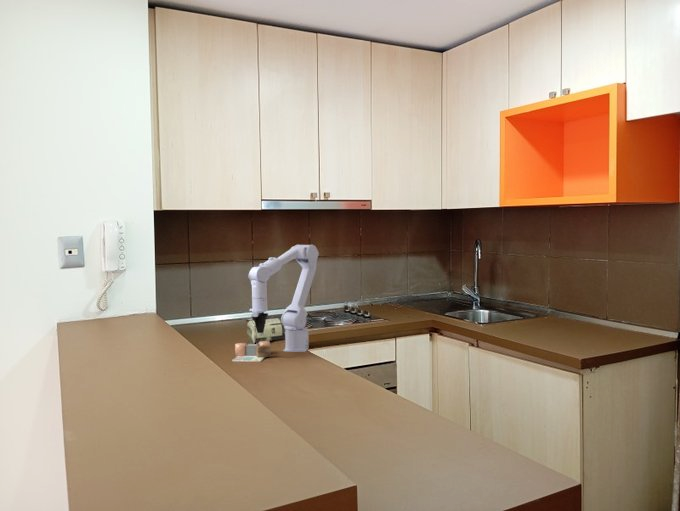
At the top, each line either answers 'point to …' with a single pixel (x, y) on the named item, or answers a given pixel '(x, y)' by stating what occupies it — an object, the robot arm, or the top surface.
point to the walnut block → (263, 351)
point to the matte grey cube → (251, 349)
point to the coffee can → (266, 331)
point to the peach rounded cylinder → (264, 343)
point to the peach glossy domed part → (240, 349)
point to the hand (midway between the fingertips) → (260, 332)
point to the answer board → (248, 359)
